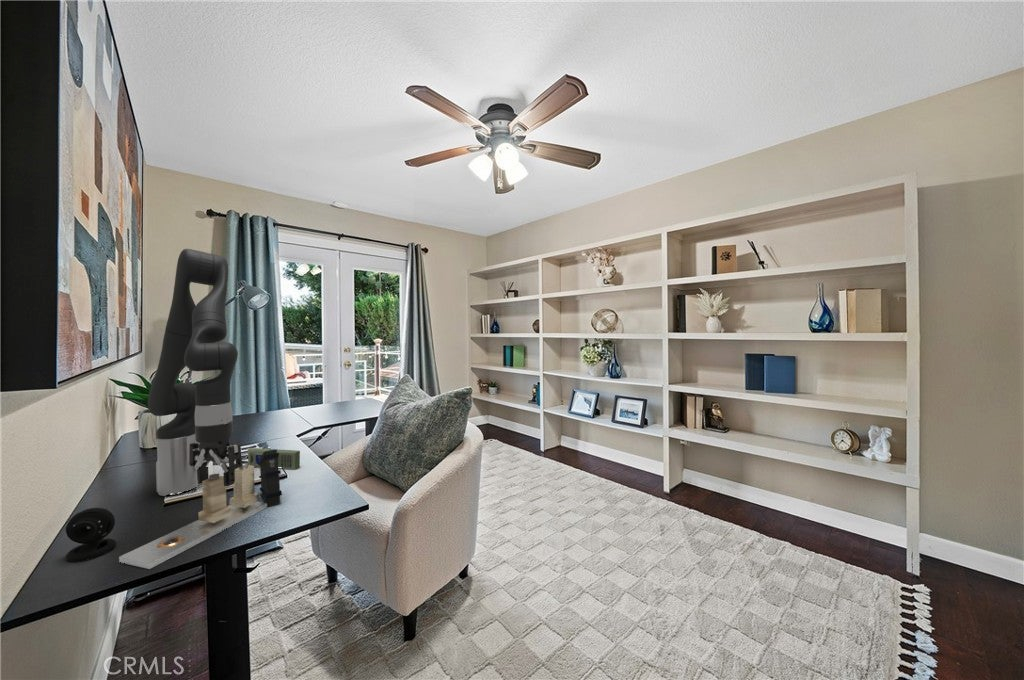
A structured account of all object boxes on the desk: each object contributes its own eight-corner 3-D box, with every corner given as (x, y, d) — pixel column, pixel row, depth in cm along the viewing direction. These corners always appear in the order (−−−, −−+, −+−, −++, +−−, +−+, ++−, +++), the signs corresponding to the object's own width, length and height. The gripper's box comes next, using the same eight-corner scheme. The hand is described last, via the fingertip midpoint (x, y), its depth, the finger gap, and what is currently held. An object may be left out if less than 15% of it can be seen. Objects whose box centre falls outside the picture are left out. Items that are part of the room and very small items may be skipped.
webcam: (55, 566, 80) (54, 520, 79) (79, 547, 86) (77, 504, 86) (105, 557, 83) (103, 512, 82) (124, 539, 90) (122, 498, 89)
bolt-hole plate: (119, 562, 81) (117, 502, 81) (242, 503, 108) (241, 458, 108) (149, 569, 79) (147, 508, 78) (267, 507, 106) (266, 461, 105)
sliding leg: (198, 522, 95) (197, 477, 94) (216, 514, 99) (215, 470, 99) (213, 524, 93) (212, 479, 93) (231, 516, 98) (230, 472, 97)
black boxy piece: (268, 505, 103) (263, 451, 108) (261, 510, 112) (256, 460, 117) (284, 501, 106) (278, 448, 110) (276, 506, 115) (271, 457, 119)
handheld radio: (294, 471, 133) (232, 467, 137) (301, 468, 136) (240, 464, 140) (295, 452, 133) (232, 448, 137) (301, 449, 136) (240, 446, 140)
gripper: (176, 423, 94) (179, 487, 94) (221, 426, 90) (223, 492, 91) (207, 416, 101) (209, 476, 101) (249, 418, 98) (251, 480, 98)
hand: (216, 483), depth 96 cm, fingers open, 8 cm apart
